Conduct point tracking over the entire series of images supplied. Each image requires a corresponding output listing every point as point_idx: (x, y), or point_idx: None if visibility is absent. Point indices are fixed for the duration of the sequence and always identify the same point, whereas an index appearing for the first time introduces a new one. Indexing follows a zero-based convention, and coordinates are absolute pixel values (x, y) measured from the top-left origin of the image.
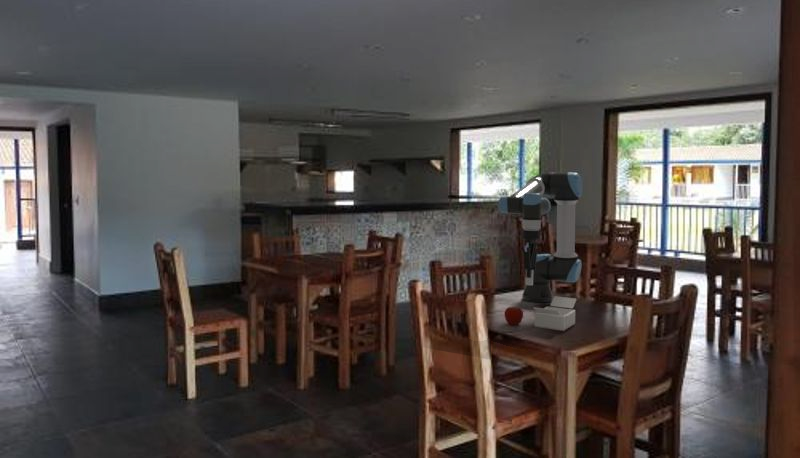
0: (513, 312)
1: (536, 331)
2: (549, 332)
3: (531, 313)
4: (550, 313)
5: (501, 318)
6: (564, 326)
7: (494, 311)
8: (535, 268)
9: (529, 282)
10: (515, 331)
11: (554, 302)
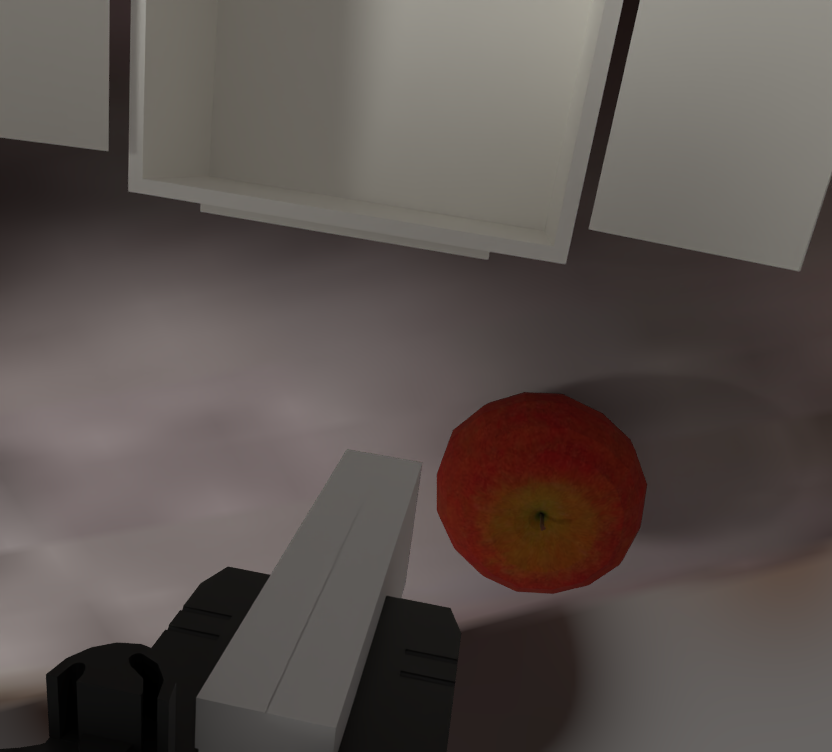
0: (643, 499)
1: None
2: None
3: (25, 375)
4: (683, 21)
5: None
6: None
7: None
8: (99, 678)
9: (403, 544)
10: (815, 380)
11: (35, 98)
